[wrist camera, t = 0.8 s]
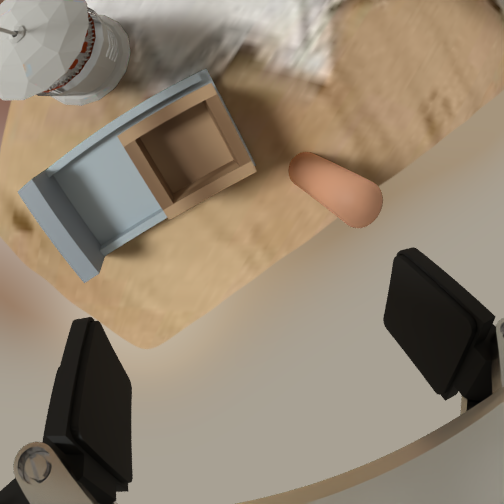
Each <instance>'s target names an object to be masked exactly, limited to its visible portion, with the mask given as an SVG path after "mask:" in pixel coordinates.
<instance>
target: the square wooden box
mask: <svg viewBox="0 0 504 504" xmlns="http://www.w3.org/2000/svg"><path fill="white" fill-rule="evenodd" d="M117 137H118V139H119V140H120V142H121V144H122V145H123V147H124V149H125V150H126V152H127V154H128V155H129V157H130V159H131V160H132V162H133V163H134V165H135V167H136V168H137V170H138V172H139V173H140V175H141V176H142V178H143V180H144V181H145V183H146V184H147V186H148V188H149V189H150V191H151V192H152V194H153V196H154V197H155V199H156V200H157V202H158V203H159V205H160V207H161V208H162V210H163V211H164V213H165V214H166V216H167V218H168V219H169V220H171V219H172V218H174V217H176V216H178V215H179V214H181V213H183V212H185V211H186V210H188V209H190V208H192V207H193V206H195V205H197V204H199V203H200V202H202V201H204V200H206V199H207V198H209V197H211V196H213V195H215V194H216V193H218V192H220V191H222V190H224V189H226V188H227V187H229V186H231V185H233V184H235V183H237V182H238V181H240V180H242V179H244V178H246V177H248V176H250V175H252V174H253V173H255V172H257V171H256V169H255V167H254V165H253V163H252V161H251V159H250V157H249V155H248V153H247V151H246V149H245V147H244V145H243V143H242V141H241V139H240V137H239V135H238V133H237V131H236V129H235V127H234V125H233V123H232V121H231V119H230V117H229V115H228V113H227V111H226V109H225V108H224V106H223V104H222V102H221V100H220V98H219V96H218V94H217V92H216V90H215V88H214V87H213V85H212V83H210V84H207V85H205V86H203V87H201V88H199V89H197V90H195V91H193V92H191V93H189V94H187V95H186V96H184V97H182V98H180V99H178V100H176V101H174V102H173V103H171V104H169V105H167V106H165V107H164V108H162V109H160V110H158V111H157V112H155V113H153V114H152V115H150V116H148V117H147V118H145V119H143V120H142V121H140V122H138V123H137V124H135V125H133V126H132V127H130V128H129V129H127V130H126V131H124V132H123V133H121V134H120V135H118V136H117Z"/></svg>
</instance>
